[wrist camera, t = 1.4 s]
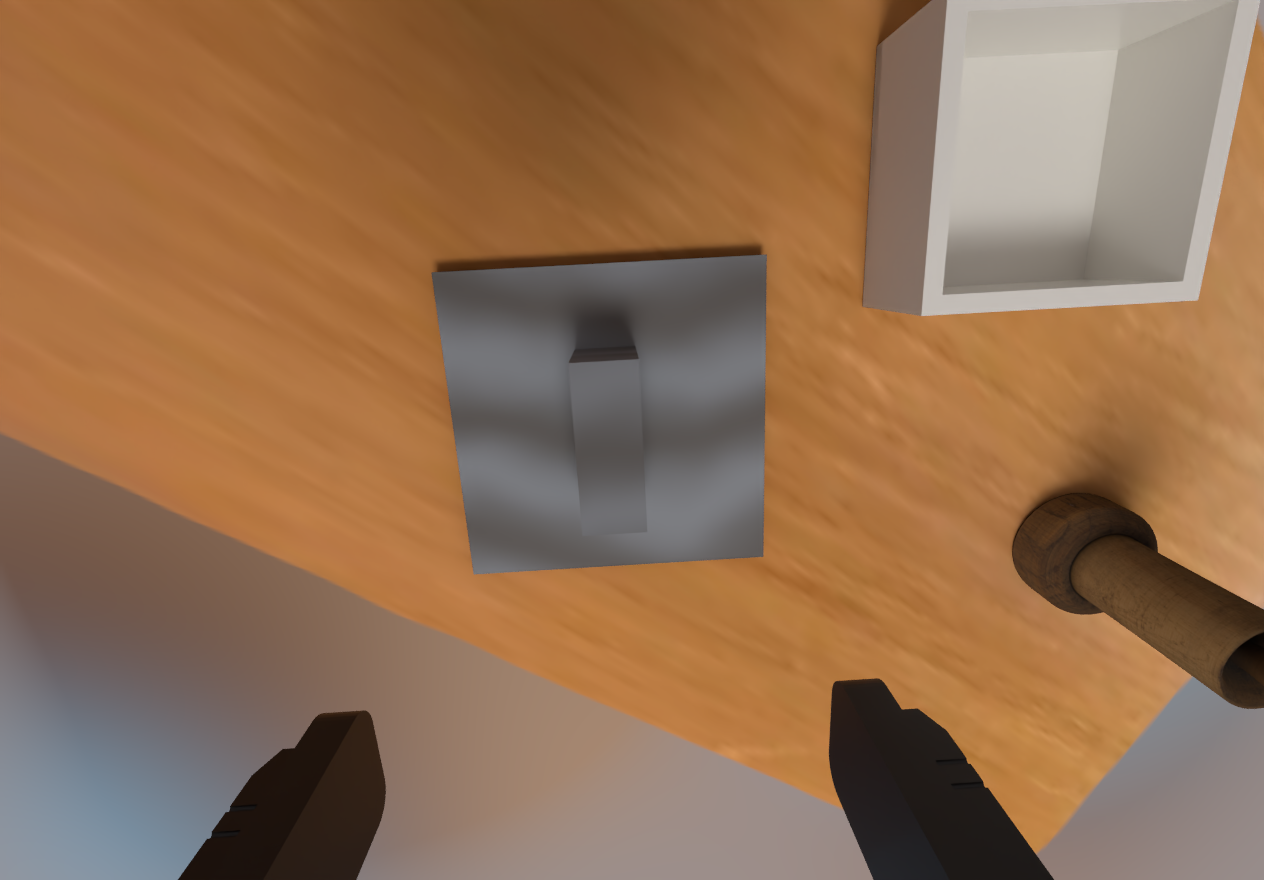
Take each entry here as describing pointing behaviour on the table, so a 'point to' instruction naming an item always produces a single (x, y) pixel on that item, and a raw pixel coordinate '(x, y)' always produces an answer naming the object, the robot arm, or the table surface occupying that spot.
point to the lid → (608, 410)
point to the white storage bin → (1050, 152)
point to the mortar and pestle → (1142, 592)
